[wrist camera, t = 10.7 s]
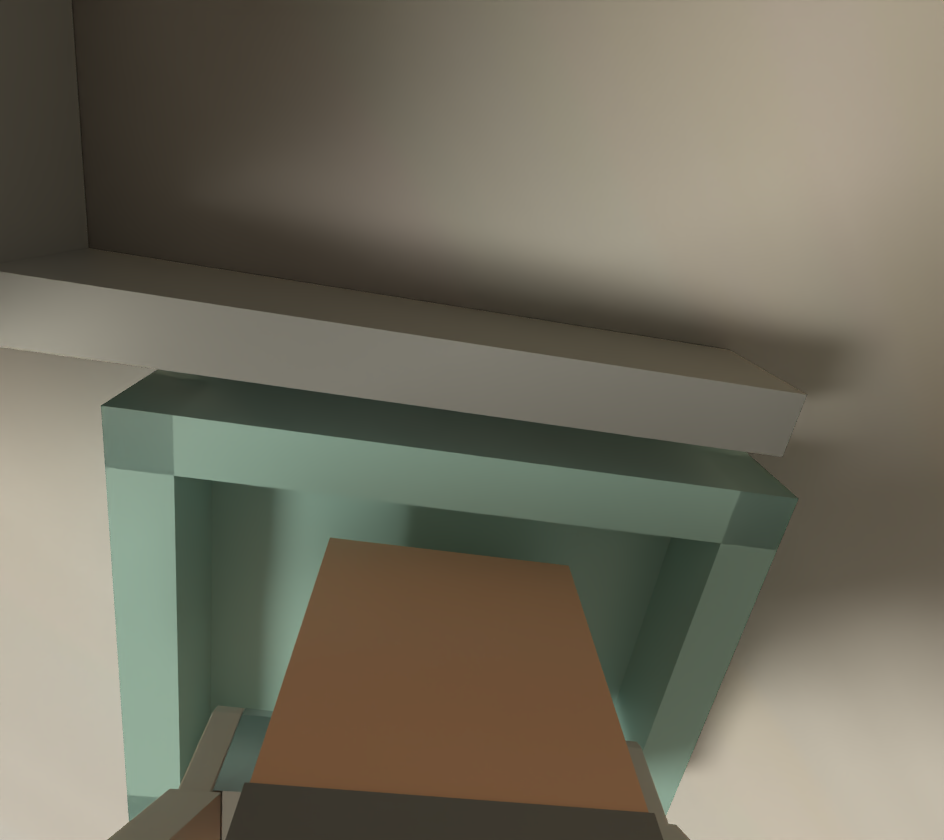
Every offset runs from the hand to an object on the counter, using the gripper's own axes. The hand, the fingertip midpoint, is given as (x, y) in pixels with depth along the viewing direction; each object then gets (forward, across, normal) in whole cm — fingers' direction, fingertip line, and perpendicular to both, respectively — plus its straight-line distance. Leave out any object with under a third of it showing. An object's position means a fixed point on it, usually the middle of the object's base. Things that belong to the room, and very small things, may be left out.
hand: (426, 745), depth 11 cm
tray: (+4, 0, 0) cm, 4 cm away
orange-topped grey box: (+2, 0, 0) cm, 2 cm away
